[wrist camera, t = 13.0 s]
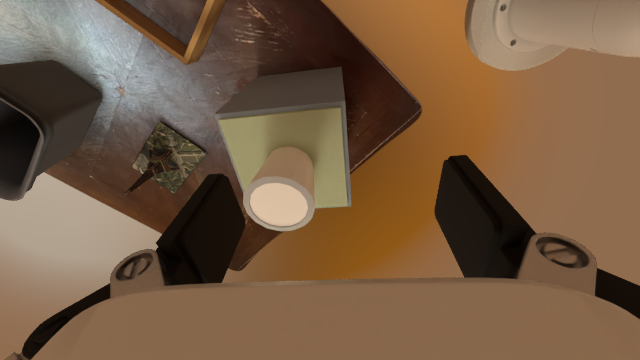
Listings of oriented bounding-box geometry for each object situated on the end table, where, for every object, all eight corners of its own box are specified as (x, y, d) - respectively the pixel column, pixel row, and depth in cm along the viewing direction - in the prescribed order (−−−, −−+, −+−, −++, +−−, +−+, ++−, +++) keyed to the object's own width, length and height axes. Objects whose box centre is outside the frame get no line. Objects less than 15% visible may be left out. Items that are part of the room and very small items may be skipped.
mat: (340, 106, 25) (340, 107, 25) (347, 203, 32) (347, 206, 32) (219, 118, 27) (218, 120, 26) (252, 209, 34) (251, 211, 33)
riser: (341, 66, 40) (345, 100, 25) (346, 144, 47) (351, 206, 33) (257, 76, 41) (213, 114, 26) (275, 150, 49) (250, 212, 34)
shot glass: (263, 188, 31) (246, 229, 25) (258, 138, 27) (237, 173, 21) (317, 192, 31) (313, 234, 25) (320, 143, 27) (316, 180, 21)
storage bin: (87, 164, 53) (17, 209, 42) (2, 113, 47) (-108, 148, 36) (125, 96, 44) (49, 128, 32) (25, 22, 38) (-111, 29, 27)
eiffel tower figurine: (176, 193, 57) (137, 237, 46) (131, 166, 53) (78, 208, 42) (207, 152, 50) (172, 192, 39) (159, 118, 46) (105, 152, 35)
